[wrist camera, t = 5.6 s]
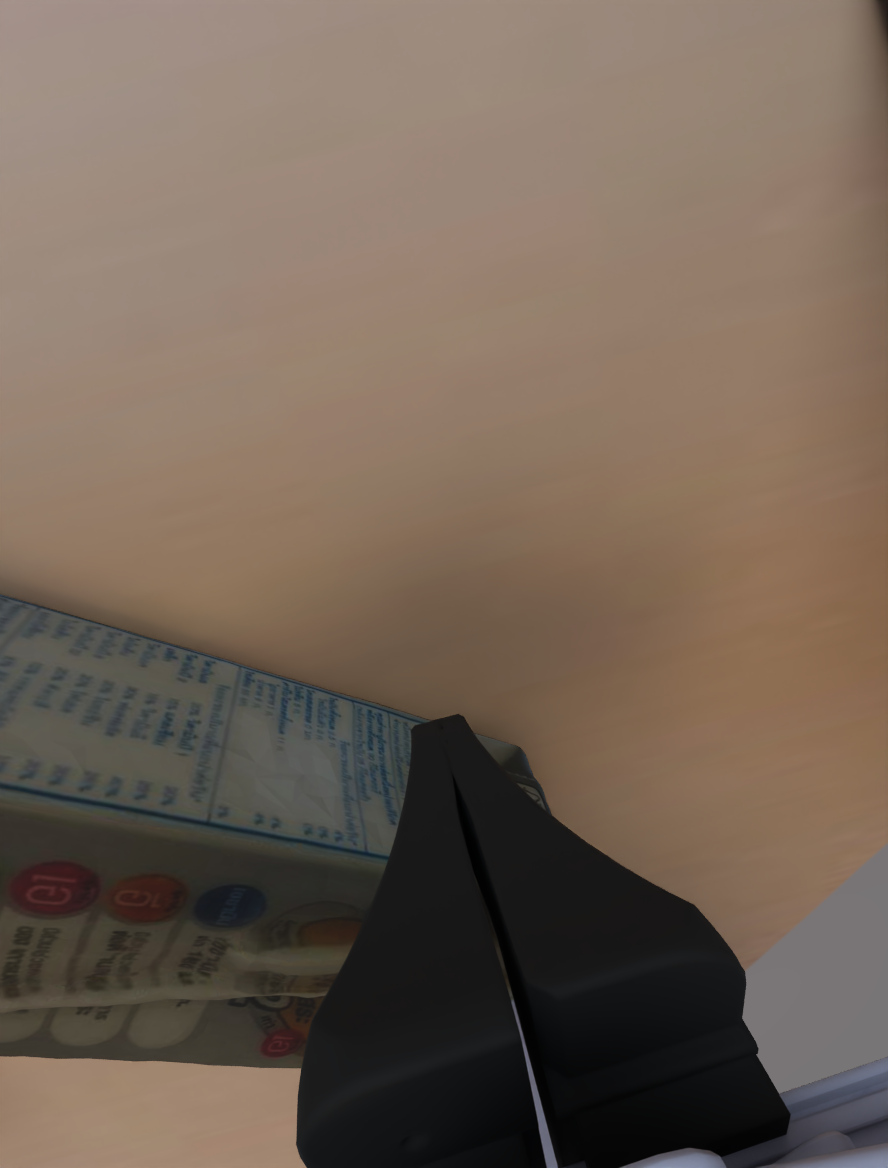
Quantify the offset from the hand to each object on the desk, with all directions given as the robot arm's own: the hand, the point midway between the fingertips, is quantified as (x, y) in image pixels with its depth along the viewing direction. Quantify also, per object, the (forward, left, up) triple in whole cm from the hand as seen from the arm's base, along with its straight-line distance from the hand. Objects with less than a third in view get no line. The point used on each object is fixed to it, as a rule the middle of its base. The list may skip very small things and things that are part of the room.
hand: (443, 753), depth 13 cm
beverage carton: (-2, +7, -4) cm, 8 cm away
